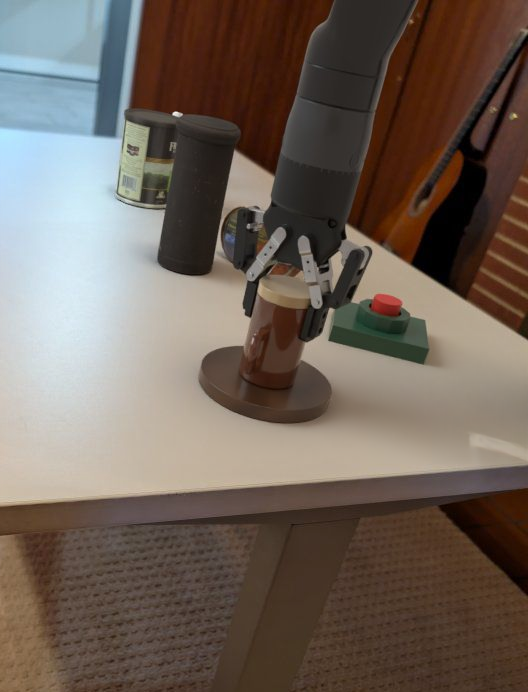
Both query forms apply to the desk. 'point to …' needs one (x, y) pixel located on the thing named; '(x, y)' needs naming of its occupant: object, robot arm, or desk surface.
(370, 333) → the button block
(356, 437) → the desk surface
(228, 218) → the tin
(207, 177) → the container
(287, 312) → the mug
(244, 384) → the turntable
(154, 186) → the coffee can
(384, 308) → the button
